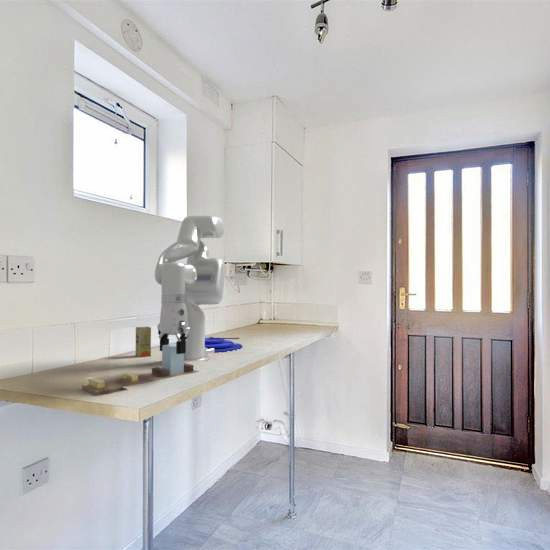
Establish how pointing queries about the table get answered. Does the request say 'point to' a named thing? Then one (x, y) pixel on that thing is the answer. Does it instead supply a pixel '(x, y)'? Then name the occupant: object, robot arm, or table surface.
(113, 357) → the table surface
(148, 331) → the shoe polish box
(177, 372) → the painted block
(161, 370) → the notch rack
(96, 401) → the table surface
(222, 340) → the coiled blue cable
